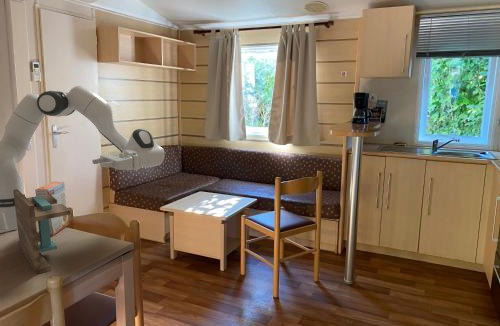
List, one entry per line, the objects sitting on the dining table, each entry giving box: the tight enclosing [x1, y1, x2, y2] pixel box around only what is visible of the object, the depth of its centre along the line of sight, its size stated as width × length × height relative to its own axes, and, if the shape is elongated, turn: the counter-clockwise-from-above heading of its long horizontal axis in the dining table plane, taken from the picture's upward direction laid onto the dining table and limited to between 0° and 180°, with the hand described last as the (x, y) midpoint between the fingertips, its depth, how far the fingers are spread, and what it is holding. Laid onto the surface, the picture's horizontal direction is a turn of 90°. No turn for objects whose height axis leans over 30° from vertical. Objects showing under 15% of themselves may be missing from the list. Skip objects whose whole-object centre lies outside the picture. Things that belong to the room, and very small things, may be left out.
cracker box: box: [35, 181, 69, 237], centre depth 171 cm, size 14×6×21 cm, turn 178°
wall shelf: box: [13, 189, 72, 275], centre depth 144 cm, size 12×28×24 cm, turn 40°
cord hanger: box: [31, 195, 58, 254], centre depth 144 cm, size 6×16×18 cm, turn 40°
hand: (96, 163), depth 158 cm, fingers open, 8 cm apart
